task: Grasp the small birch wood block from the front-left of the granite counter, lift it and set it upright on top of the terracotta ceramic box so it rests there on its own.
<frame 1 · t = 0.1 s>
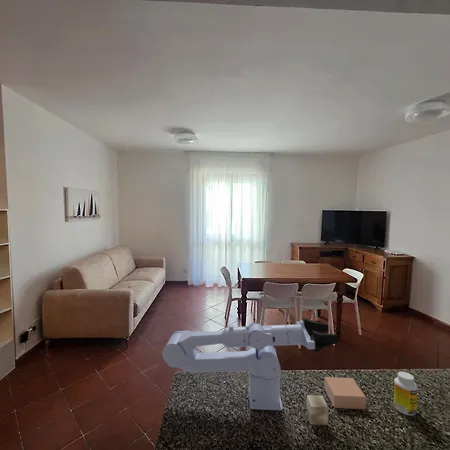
hand: (332, 333, 77), 22 cm above the countertop, tool horizontal, fingers open, 7 cm apart
terracotta box: (343, 398, 80), on the countertop
supplement bottle: (405, 410, 75), on the countertop
birch block: (316, 418, 72), on the countertop
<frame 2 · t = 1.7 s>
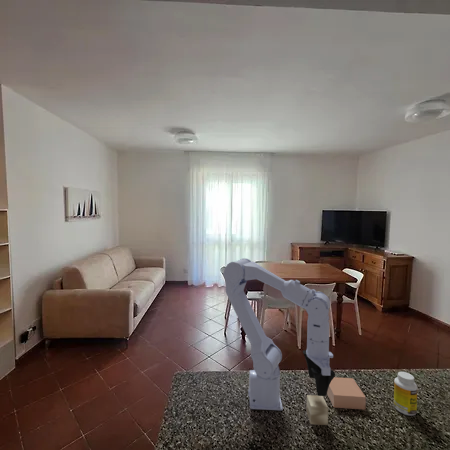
hand: (317, 385, 72), 9 cm above the countertop, tool pointing down, fingers open, 7 cm apart
nothing on the countertop moved.
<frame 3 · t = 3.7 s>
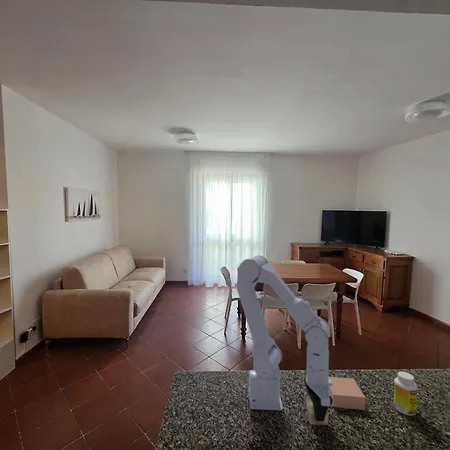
hand: (316, 413, 72), 1 cm above the countertop, tool pointing down, fingers closed on birch block, 4 cm apart
birch block: (316, 418, 72), on the countertop, touching gripper
everything else where it was.
when the fingers open (6 cm above the countertop, at t = 8.8 s): birch block drops 1 cm, point 4 cm above the countertop.
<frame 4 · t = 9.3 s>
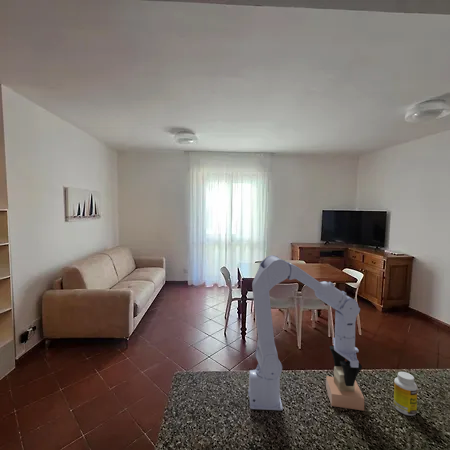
hand: (344, 377, 80), 6 cm above the countertop, tool pointing down, fingers open, 7 cm apart
birch block: (343, 386, 80), point 4 cm above the countertop
everything else where it was.
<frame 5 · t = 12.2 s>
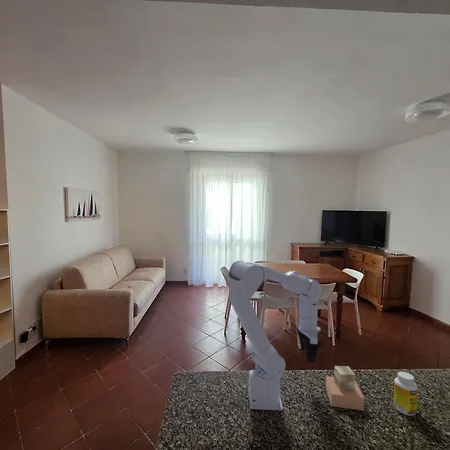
hand: (307, 355, 86), 10 cm above the countertop, tool pointing down, fingers open, 7 cm apart
nothing on the countertop moved.
at the end: birch block 0.4 cm off-centre on the terracotta box, point 4.0 cm above the terracotta box's base; birch block tilted 0°; the gripper is holding nothing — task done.
